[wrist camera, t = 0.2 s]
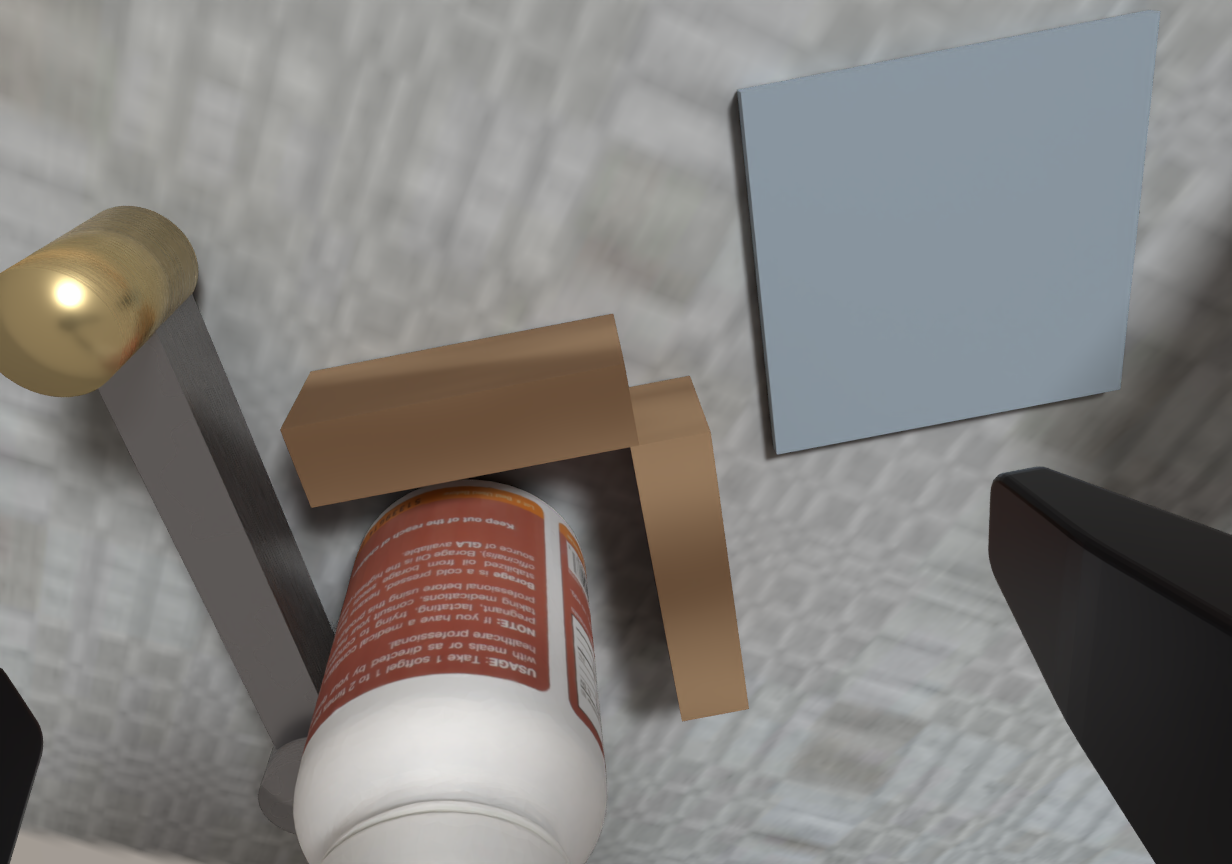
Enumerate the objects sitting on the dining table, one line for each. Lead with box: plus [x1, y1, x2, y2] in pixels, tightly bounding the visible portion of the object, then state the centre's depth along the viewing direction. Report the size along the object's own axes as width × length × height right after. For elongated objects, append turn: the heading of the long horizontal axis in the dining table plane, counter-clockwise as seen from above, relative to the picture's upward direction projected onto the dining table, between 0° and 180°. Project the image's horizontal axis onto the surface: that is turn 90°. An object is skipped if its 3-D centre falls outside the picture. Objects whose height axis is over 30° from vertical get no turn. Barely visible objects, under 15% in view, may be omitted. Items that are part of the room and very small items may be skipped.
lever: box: [0, 206, 335, 834], centre depth 21 cm, size 16×3×4 cm, turn 10°
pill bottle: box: [293, 480, 607, 864], centre depth 20 cm, size 6×6×11 cm
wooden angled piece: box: [280, 314, 749, 721], centre depth 23 cm, size 12×13×3 cm
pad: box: [737, 10, 1160, 455], centre depth 22 cm, size 9×9×1 cm
